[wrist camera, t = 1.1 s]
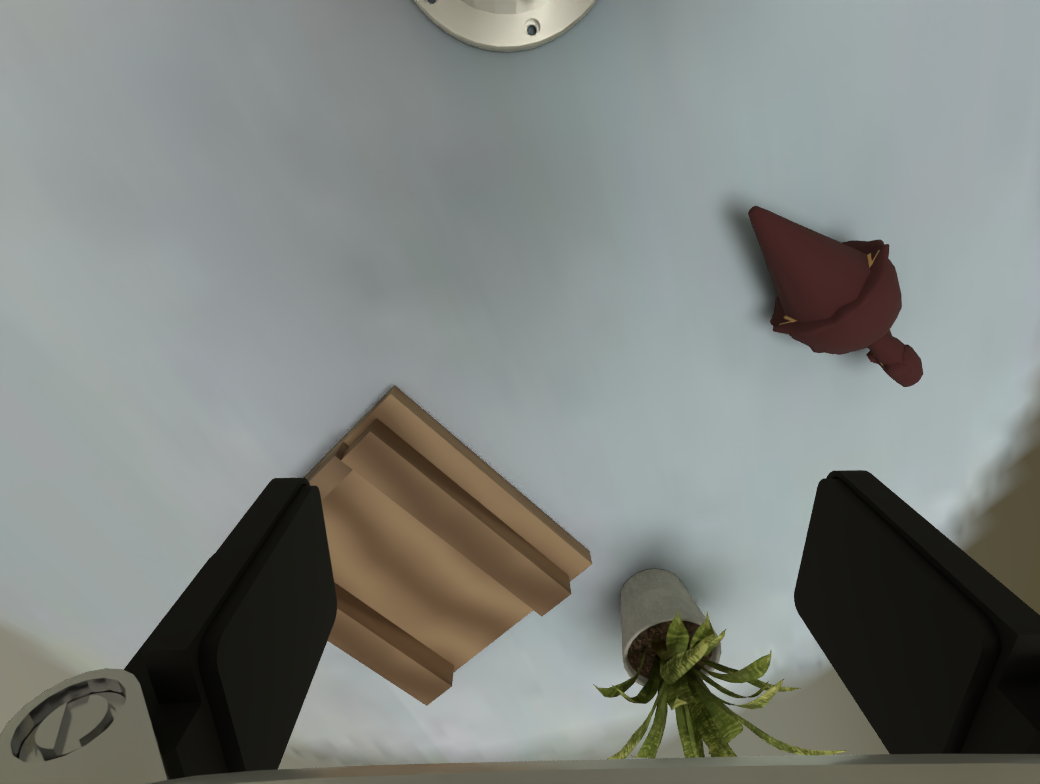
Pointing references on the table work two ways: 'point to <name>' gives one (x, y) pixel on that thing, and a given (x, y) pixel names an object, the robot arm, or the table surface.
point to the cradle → (431, 548)
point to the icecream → (835, 294)
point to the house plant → (683, 670)
